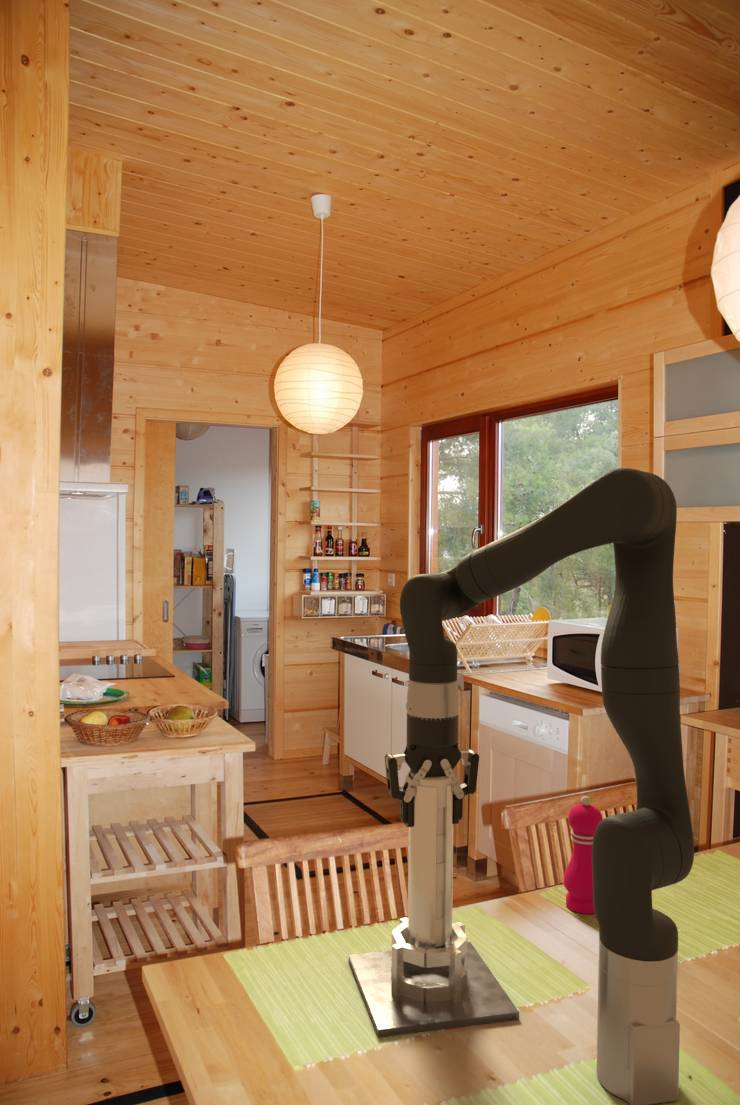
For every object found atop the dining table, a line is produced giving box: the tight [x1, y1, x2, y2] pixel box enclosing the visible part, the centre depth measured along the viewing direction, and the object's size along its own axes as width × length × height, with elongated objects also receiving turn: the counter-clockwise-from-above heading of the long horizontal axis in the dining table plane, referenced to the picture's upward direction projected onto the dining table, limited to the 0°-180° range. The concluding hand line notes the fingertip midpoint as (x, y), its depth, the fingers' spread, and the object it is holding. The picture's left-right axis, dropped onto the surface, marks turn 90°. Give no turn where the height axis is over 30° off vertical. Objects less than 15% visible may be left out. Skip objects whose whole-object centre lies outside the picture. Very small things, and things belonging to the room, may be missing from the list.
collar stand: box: [348, 916, 520, 1038], centre depth 124 cm, size 20×20×8 cm
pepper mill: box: [563, 795, 604, 915], centre depth 151 cm, size 7×7×20 cm
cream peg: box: [407, 774, 454, 949], centre depth 124 cm, size 6×6×25 cm
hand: (431, 823), depth 123 cm, fingers closed on cream peg, 6 cm apart
